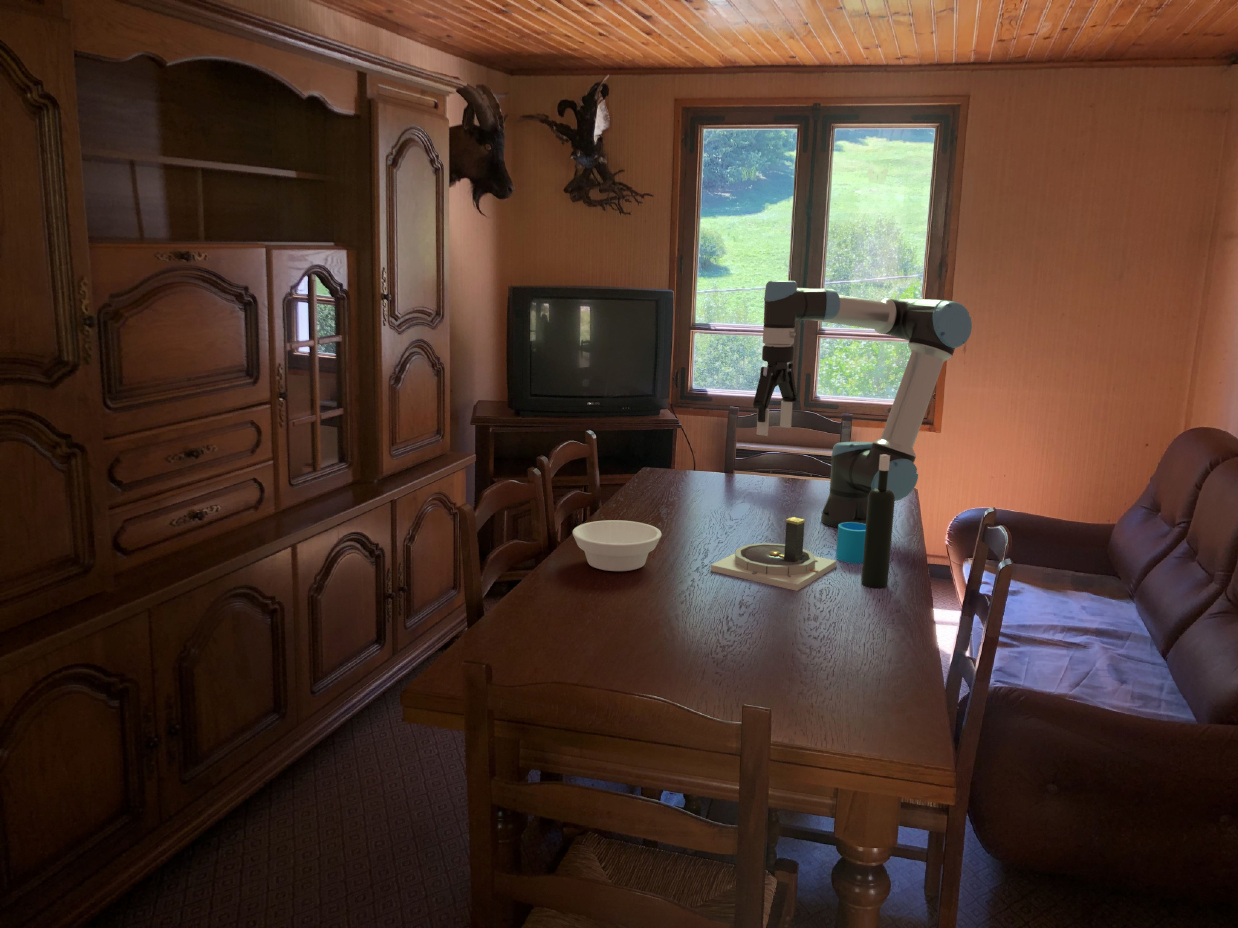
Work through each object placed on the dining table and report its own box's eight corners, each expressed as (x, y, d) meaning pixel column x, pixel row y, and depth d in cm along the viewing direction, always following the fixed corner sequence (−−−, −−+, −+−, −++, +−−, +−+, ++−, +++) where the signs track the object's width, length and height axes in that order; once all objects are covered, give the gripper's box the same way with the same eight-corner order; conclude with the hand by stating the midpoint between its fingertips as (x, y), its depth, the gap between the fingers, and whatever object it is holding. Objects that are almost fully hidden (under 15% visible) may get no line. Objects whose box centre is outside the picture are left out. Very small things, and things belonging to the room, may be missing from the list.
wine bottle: (888, 581, 220) (899, 453, 214) (886, 589, 215) (897, 458, 208) (862, 578, 222) (872, 451, 216) (860, 586, 216) (870, 456, 210)
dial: (733, 560, 227) (735, 514, 224) (766, 548, 237) (769, 504, 234) (783, 574, 217) (786, 526, 215) (815, 561, 228) (819, 515, 225)
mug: (868, 565, 232) (870, 532, 230) (833, 561, 235) (836, 528, 233) (872, 551, 243) (875, 520, 242) (839, 547, 246) (842, 517, 244)
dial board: (754, 549, 242) (754, 536, 242) (836, 566, 230) (837, 552, 229) (710, 570, 225) (711, 556, 224) (797, 590, 212) (798, 575, 212)
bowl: (673, 559, 233) (675, 527, 231) (639, 584, 214) (640, 549, 213) (596, 547, 242) (596, 515, 240) (556, 570, 223) (556, 536, 221)
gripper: (770, 349, 221) (766, 440, 226) (812, 342, 241) (808, 425, 246) (741, 347, 225) (737, 436, 230) (785, 340, 245) (781, 422, 250)
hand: (774, 431), depth 238 cm, fingers open, 13 cm apart
